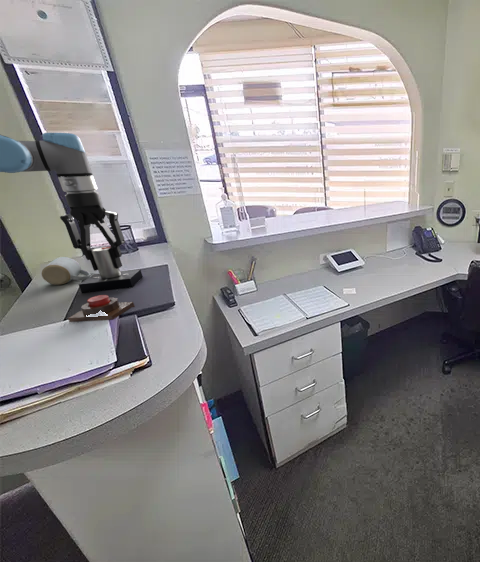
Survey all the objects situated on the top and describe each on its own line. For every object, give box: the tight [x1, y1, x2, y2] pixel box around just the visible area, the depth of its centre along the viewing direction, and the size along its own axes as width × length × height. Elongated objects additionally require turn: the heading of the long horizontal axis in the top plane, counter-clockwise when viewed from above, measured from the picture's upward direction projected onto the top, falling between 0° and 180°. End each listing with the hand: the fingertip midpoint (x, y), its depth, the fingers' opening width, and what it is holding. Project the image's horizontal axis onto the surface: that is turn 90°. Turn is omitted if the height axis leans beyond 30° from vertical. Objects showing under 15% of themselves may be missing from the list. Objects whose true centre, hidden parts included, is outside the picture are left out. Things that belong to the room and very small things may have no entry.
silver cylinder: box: [91, 246, 121, 279], centre depth 97 cm, size 5×5×9 cm
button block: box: [67, 296, 136, 323], centre depth 78 cm, size 10×8×4 cm
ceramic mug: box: [41, 256, 92, 286], centre depth 103 cm, size 11×8×8 cm
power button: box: [86, 294, 110, 307], centre depth 77 cm, size 4×4×2 cm
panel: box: [78, 268, 144, 294], centre depth 99 cm, size 13×10×3 cm
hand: (108, 268), depth 98 cm, fingers closed on silver cylinder, 5 cm apart
